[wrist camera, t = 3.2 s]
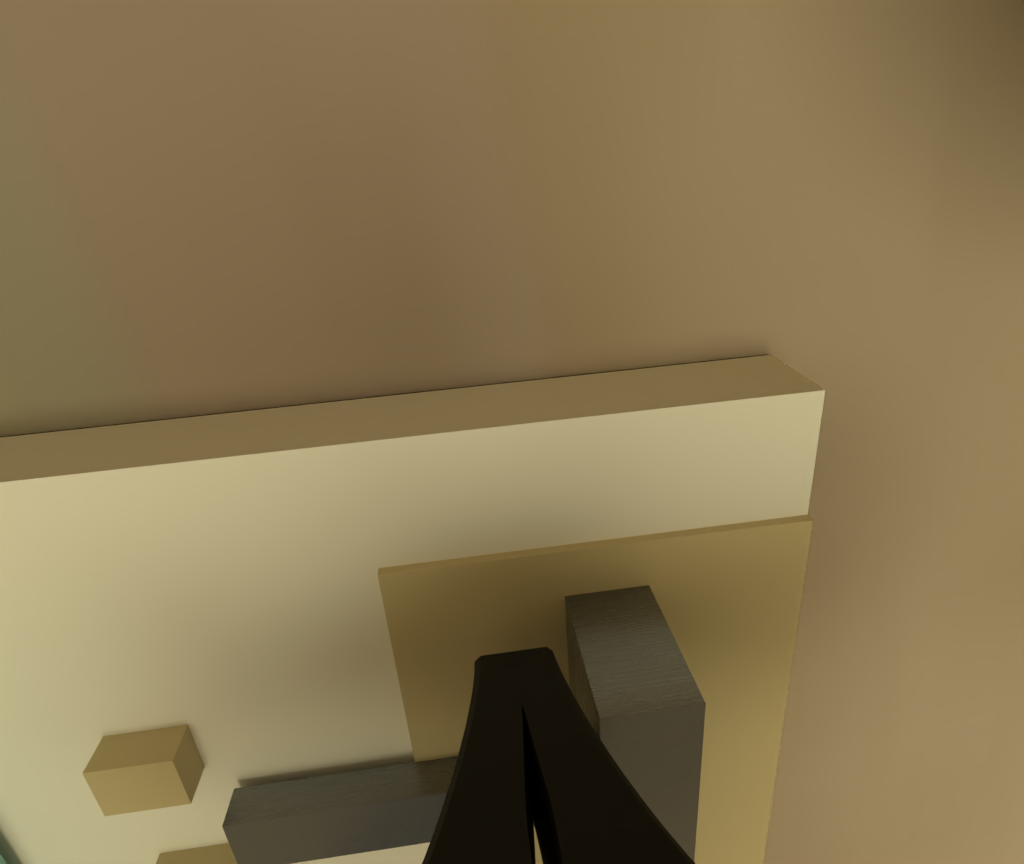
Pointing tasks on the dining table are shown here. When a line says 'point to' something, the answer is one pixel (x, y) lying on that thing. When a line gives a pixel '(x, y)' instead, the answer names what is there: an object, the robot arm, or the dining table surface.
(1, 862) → the cover
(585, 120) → the dining table surface
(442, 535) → the board
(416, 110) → the dining table surface
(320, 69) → the dining table surface
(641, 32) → the dining table surface
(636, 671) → the t key
